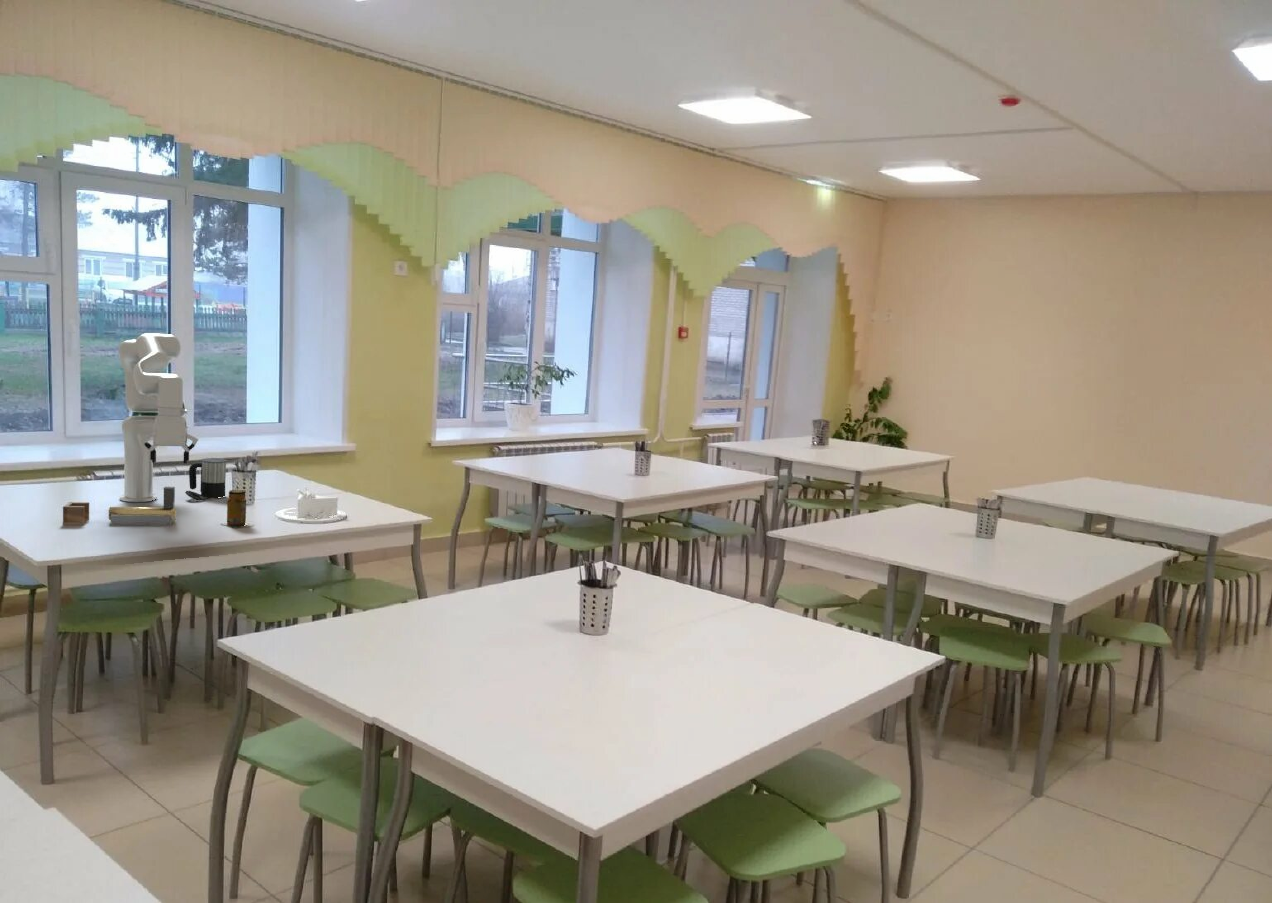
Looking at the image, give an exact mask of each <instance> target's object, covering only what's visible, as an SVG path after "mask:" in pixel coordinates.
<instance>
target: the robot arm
mask: <svg viewBox="0 0 1272 903" xmlns="http://www.w3.org/2000/svg"><path fill="white" fill-rule="evenodd" d="M181 349H182V348H181V343H180V341H179V338H177V336H175V335H173V334H167V333H166V334H165V333H142V334H141V335H139V336H137V338H136V339H128V340H124V341H122V342H121V343H120V344H119V346H118V355H119V360H120V364H121V366H122V369H123V372H124V376H125V405H126V408H127V410H129V411H130V412H134V413H157V415H133V416H128V417H126V418H124V420H122V423H121V431H122V437H123V444H124V445H123V446H124V449H123V450H124V455H123V456H124V458H123V459H124V472H123V473H124V475H123V476H124V477H123V478H124V481H123V482H124V483H123V485H124V486H123V488H124V489H123V490H124V491H123V492H124V493H123V494H121V495H120V496H119V500H120V501H123V502H130V503H131V502H132V503H145V502H152V500H153V501H156V500H158V495H156V494H153V493H154V490H153V489H154V483H153V480H154V466H153V465H154V464H155V463H156V462H157V450H156V448H157V447H158V446H159V447H181V448H182V449H183V450H184V451H183V464H187V463H188V462H189V461H190V451H191V450H192V449H193V448H194V447H195V446H196V445H197V443H198V441H199V439H198V438H197V437H195V436H193V435H191V434H189V433H188V432H187V431H188V430H187V429H188V428H187V419H186V416H184V414H185V415H186V414H188V409H185V408H184V407H183V406H184V405H183V402H184V401H183V400H184V398H183V397H184V396H183V395H184V392H183V390H184V389H183V388H184V385H183V384H184V381H183V378H182V377H181V376H179V375H178V374H176V373H162V372H163V371H165V370H166V369H167V368H168V366H169V364H170V363H172V362H173V361H175V360H177V358H178V357H179V356H180V354H181V351H182V350H181ZM188 440H190V441H191V443H190V445H188V444H187V443H188ZM150 442H152V445H151V443H150ZM155 499H156V500H155Z"/></svg>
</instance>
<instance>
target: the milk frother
mask: <svg viewBox="0 0 1272 903" xmlns="http://www.w3.org/2000/svg"><path fill="white" fill-rule="evenodd" d="M227 462H228V460H227V459H225V458H217V457H215V458H214V457H211V458H209V457H207V458H201V461H196V462H193V463H192V464H191V465H190V466H189V468H188V477H189V478H188V479H189V489H190V490H185V492H184V493H185V494H186V496H188V497H190V498H191V499H193V500H195V501H196V500H198V501H205V500H206V499H211V498H215V499H219V498H218V497H223V496H225V495H226V476H227V474H226V472H227V471H226V470H227ZM198 468H200V490H199V491H200V493H198V492H195V491H193V490H196V488H197V469H198ZM191 490H192V491H191ZM205 497H207V498H205Z"/></svg>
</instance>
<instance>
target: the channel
mask: <svg viewBox="0 0 1272 903" xmlns="http://www.w3.org/2000/svg"><path fill="white" fill-rule="evenodd" d="M174 521H175V520H171V515H115V514H112V515H111V520H110V526H171V525H172V524H173V522H174Z"/></svg>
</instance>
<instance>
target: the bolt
mask: <svg viewBox="0 0 1272 903" xmlns="http://www.w3.org/2000/svg"><path fill="white" fill-rule="evenodd" d="M175 489H176V487H175V486H164V487H163V507H161V506H160V507H156V506H155V507H154V506H153V507H150V506H149V507H147V506H146V507H145V506H141V507H140V506H139V507H138V506H109V508H108V519H109V521H111V515H112V514H115V515H171V520H174V521H176V520H177V519H176V518H177V507H175V506H176V505H175V502H176V501H175V497H176V495H175V494H176V492H175V491H176V490H175Z"/></svg>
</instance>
